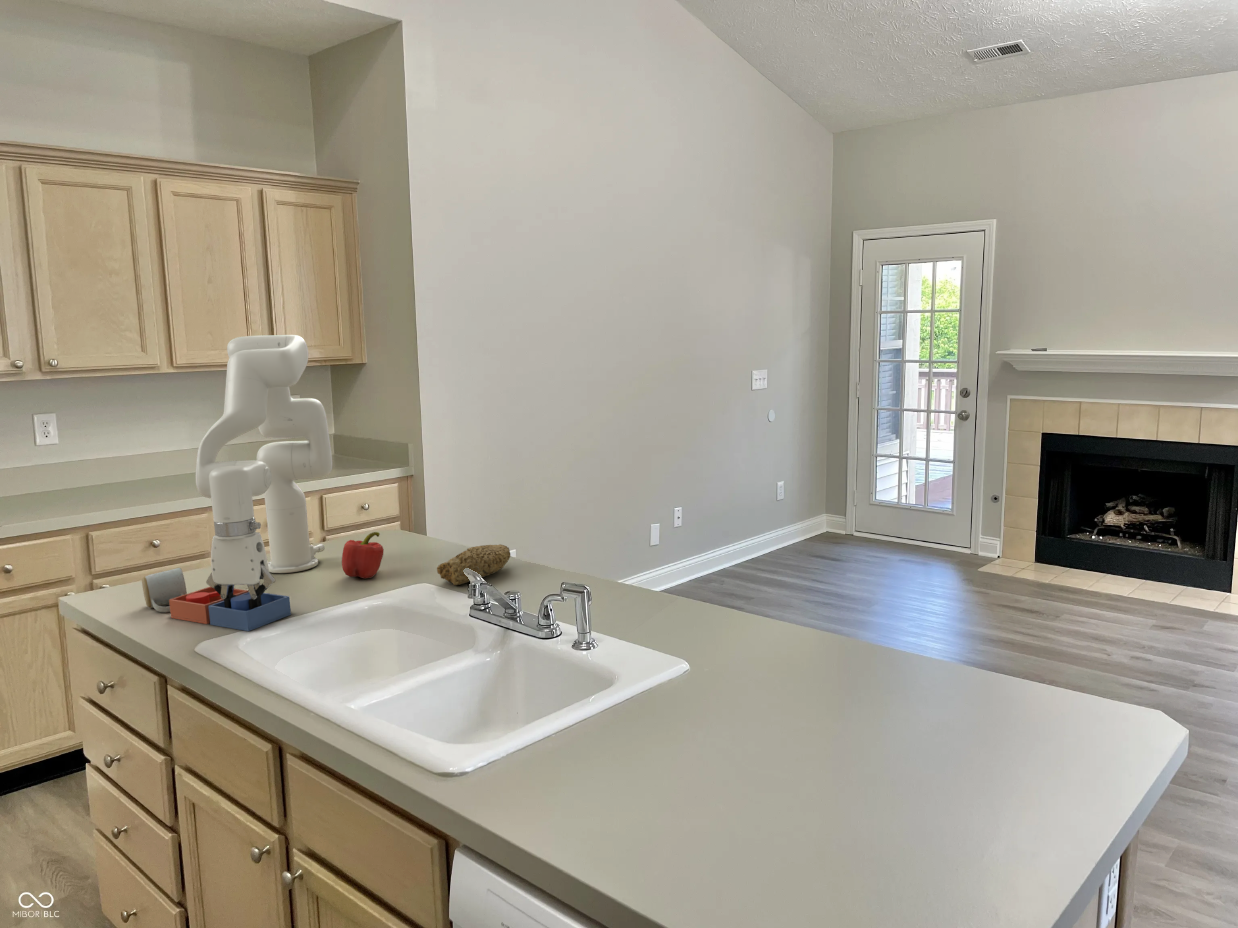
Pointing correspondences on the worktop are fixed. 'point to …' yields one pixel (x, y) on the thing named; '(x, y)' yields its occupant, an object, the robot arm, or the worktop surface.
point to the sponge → (474, 562)
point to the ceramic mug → (163, 588)
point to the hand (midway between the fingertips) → (244, 615)
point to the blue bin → (251, 613)
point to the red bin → (196, 606)
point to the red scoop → (201, 597)
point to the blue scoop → (240, 602)
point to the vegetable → (362, 557)
